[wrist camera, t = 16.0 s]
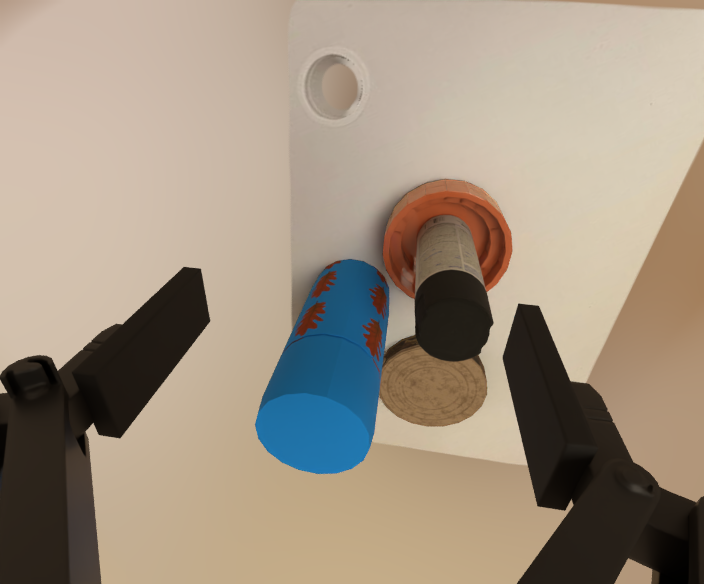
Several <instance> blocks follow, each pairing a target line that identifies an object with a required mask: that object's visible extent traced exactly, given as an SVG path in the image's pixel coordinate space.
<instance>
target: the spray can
mask: <svg viewBox="0 0 704 584" xmlns="http://www.w3.org/2000/svg"><path fill="white" fill-rule="evenodd" d="M415 323H416V326H415V336H416V340H417V342H418V344H419V345H420V347H421V348H422V349H423V350H424V351H425V352H426V353H428V354H429V355H430V356H432V357H434V358H437V359H440V360H443V361H450V362H458V361H465V360H468V359H471V358H473V357H475V356H477V355H479V354H480V353H481V348H482V347H483V346H484V345H485V344H486V342H487V340H488V337H489V332H490V327H491V326H492V325H493V319H492V314H491V310H490V305H489V301H488V296H487V292H486V288H485V284H484V280H483V276H482V273H481V269H480V265H479V261H478V257H477V253H476V249H475V245H474V241H473V237H472V234H471V231H470V229H469V227H468V225H467V224H466V223H465V222H464V221H463V220H461V219H460V218H458V217H455V216H452V215H439V216H436V217H433V218H431V219H430V220H429V221H427V222H426V223H425V224H424V225H423V226H422V228H421V229H420V231H419V233H418V237H417V255H416V281H415Z"/></svg>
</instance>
